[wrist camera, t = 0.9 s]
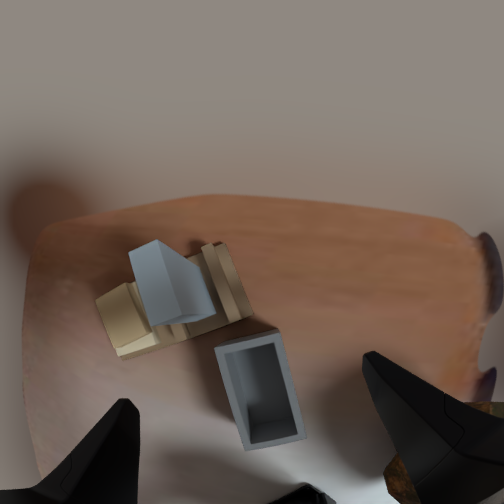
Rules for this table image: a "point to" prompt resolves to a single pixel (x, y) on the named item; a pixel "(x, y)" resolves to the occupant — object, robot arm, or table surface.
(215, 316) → the rack
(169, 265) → the panel
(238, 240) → the table surface
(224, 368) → the holder
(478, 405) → the rock
